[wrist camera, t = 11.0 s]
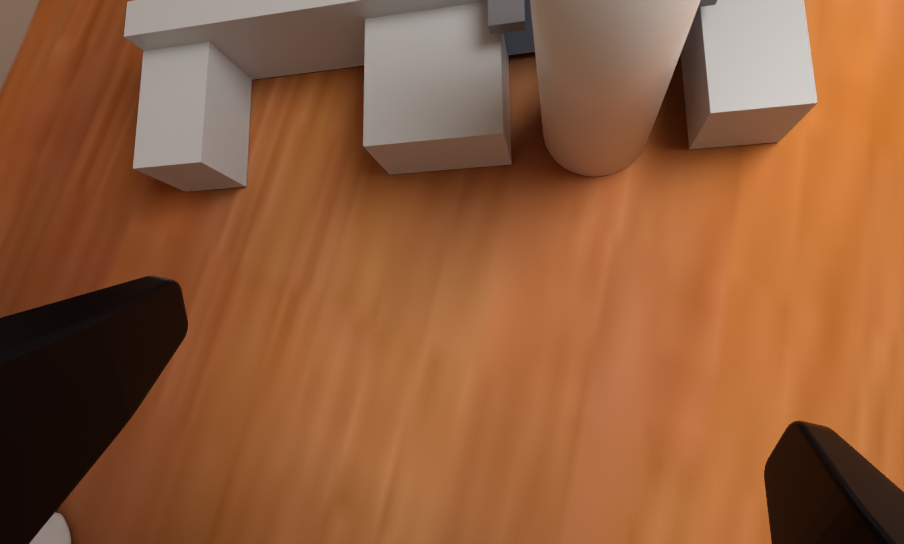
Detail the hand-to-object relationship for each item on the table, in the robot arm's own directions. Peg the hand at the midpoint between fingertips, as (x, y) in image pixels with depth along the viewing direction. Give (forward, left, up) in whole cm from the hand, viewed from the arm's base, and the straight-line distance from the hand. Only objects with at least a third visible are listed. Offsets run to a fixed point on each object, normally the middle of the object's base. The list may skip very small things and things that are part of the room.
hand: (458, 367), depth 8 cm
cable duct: (+9, -7, -12) cm, 17 cm away
